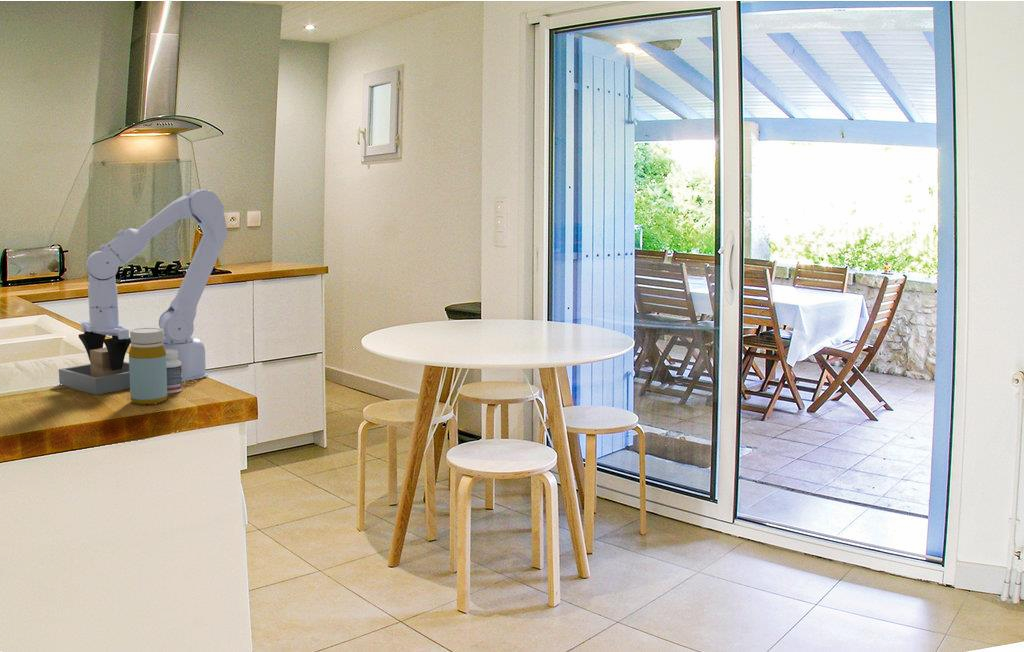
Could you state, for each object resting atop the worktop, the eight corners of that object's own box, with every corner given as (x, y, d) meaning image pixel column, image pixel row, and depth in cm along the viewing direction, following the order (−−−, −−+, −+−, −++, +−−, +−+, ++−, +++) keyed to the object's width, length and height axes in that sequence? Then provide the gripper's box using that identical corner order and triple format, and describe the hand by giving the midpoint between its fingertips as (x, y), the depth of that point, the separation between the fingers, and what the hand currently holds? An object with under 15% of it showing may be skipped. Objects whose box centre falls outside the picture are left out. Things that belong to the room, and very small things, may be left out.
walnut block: (110, 377, 188) (108, 346, 187) (122, 380, 186) (120, 349, 185) (91, 380, 185) (89, 349, 184) (103, 383, 182) (101, 352, 181)
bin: (116, 374, 195) (116, 359, 194) (153, 383, 188) (152, 368, 187) (59, 384, 183) (58, 369, 183) (96, 394, 176) (95, 378, 176)
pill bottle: (186, 391, 182) (185, 351, 181) (163, 395, 178) (162, 354, 177) (175, 386, 186) (174, 347, 184) (152, 390, 182) (150, 350, 180)
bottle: (173, 402, 173) (170, 331, 171) (138, 407, 168) (135, 334, 166) (159, 395, 178) (156, 326, 176) (125, 400, 173) (122, 329, 171)
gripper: (66, 304, 183) (70, 365, 185) (106, 312, 176) (109, 374, 178) (97, 301, 189) (99, 360, 191) (136, 308, 181) (139, 369, 184)
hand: (106, 366), depth 185 cm, fingers open, 7 cm apart
